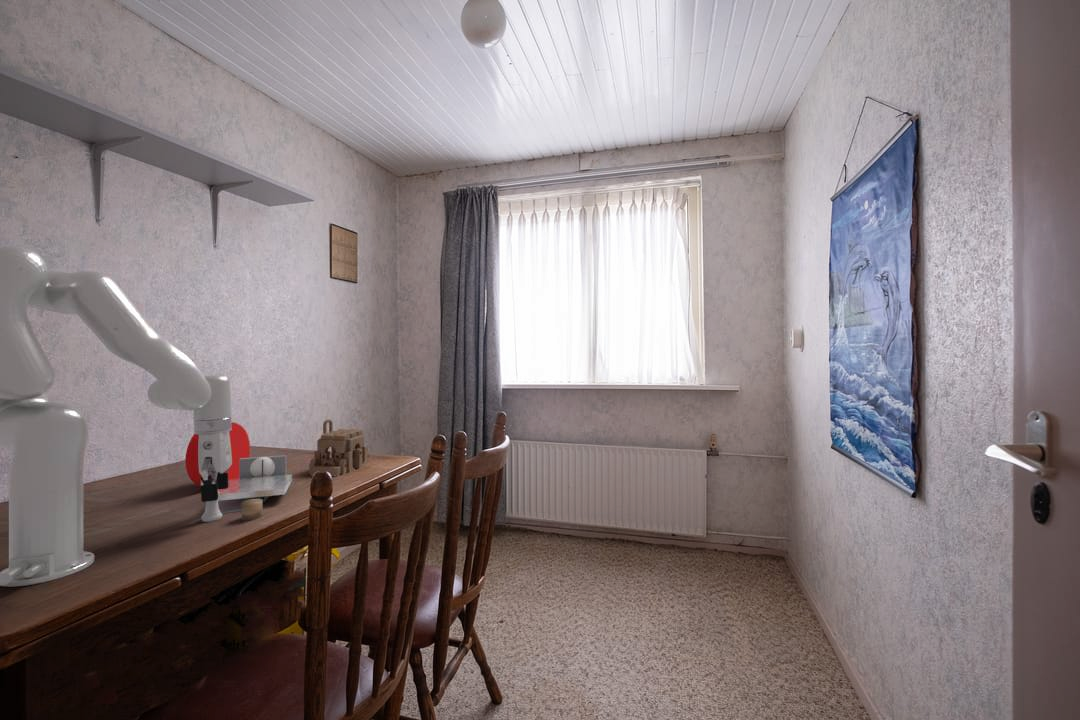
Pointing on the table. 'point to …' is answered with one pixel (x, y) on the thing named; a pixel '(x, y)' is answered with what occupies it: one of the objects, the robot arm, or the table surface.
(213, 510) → the rook chess piece
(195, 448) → the red thick disc
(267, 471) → the scale base
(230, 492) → the pan
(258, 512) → the tan cylinder
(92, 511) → the table surface
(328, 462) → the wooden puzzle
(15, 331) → the robot arm
